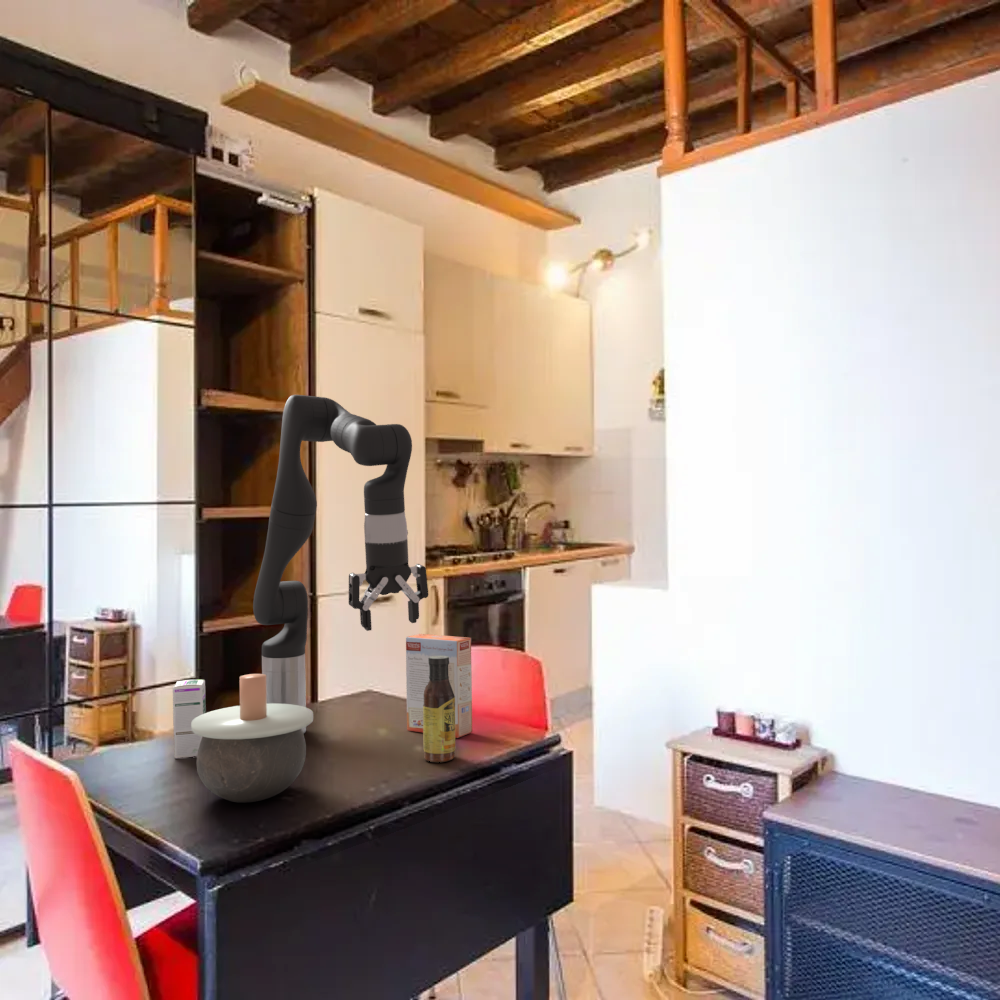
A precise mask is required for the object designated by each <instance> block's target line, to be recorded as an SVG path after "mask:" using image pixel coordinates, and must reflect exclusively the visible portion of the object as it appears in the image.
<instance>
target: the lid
mask: <svg viewBox="0 0 1000 1000" xmlns="http://www.w3.org/2000/svg"><path fill="white" fill-rule="evenodd" d="M313 721H314V711H313V710H312V709H310V708H309V707H307V706H306V707H303V706H299V705H292V704H276V703H269V704H267V698H266V675H265V674H262V673H249V674H244V675H240V676H239V705H233V706H228V707H223V708H219V709H215V710H211V711H206V713H204V714H202V715H200V716H198V717H196V718H195V719H193V720H192V722H191V730H192V732H193V733H195V734H197V735H199V736H203V737H207V738H214V739H252V738H262V737H269V736H275V735H281V734H285V733H289V732H293V731H296V730H299V729H301V728H304V727H306V728H307V726H309V725H311V724H312V723H313Z"/></svg>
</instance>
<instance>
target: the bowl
mask: <svg viewBox="0 0 1000 1000" xmlns="http://www.w3.org/2000/svg"><path fill="white" fill-rule="evenodd" d="M304 734H305V733H304ZM304 734H303V732H302V729H299V730H296V731H293V732H289V733H285V734H281V735H275V736H269V737H262V738H252V739H214V738H207V737H203V736H202V739H201V742H200V745H199V749H198V754H197V757H196V770H197V771H196V772H197V775H198V777H199V779H200V780H201V783H202V784H203V785H204V786H205V788H206V789H207V790H209V791H210V792H211V793H212V794H214V795H215V796H217V797H219V798H222V799H223V800H226V801H228V802H232V803H239V804H240V803H245V804H246V803H255V802H260V801H265V800H267V799H270V798H272V797H275V796H277V795H278V794H281V793H282V792H284V791H285V790H287V788H289V787H290V786H291V785H292V784H293V783H294V781H296V779H297V778H298V777H299V775H300V774H301V772H302V771H303V768H304V765H305V761H306V756H307V744H306V739H305V735H304Z"/></svg>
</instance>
